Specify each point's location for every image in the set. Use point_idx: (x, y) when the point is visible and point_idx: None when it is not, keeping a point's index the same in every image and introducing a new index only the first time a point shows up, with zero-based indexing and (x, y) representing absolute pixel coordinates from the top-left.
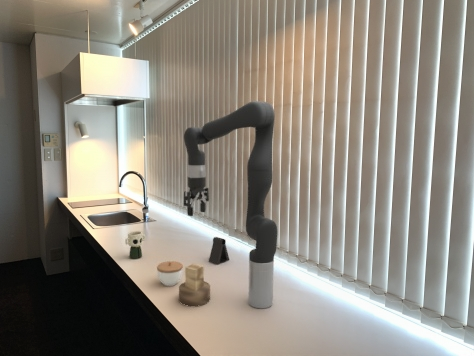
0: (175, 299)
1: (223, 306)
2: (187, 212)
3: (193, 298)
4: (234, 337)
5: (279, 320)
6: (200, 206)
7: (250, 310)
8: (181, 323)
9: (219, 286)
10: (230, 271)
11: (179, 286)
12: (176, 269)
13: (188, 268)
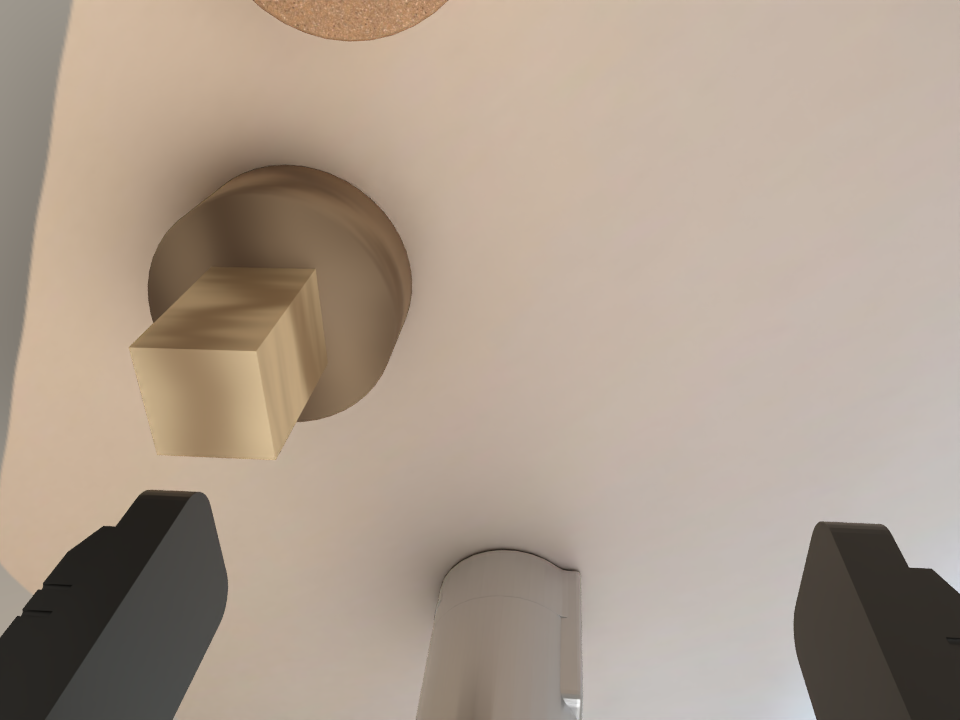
0: (203, 163)
1: (346, 467)
2: (49, 576)
3: None
4: None
5: (405, 706)
6: (885, 665)
7: (403, 589)
8: (51, 382)
9: (574, 310)
10: (918, 227)
11: (188, 215)
12: (310, 31)
13: (138, 382)
